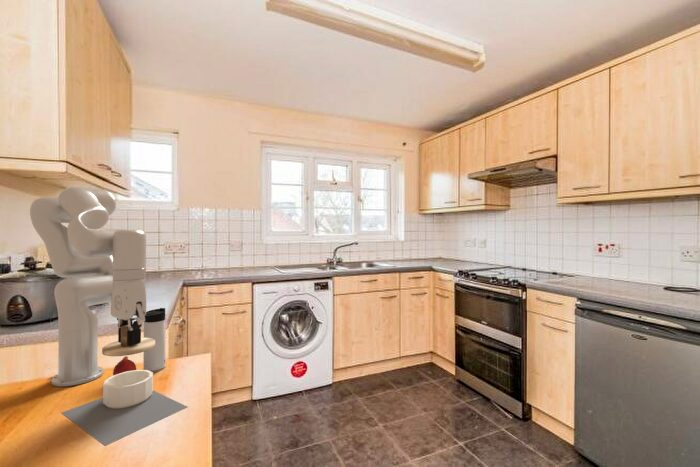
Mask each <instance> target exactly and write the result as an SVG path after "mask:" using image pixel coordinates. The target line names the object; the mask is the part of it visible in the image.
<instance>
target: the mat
mask: <svg viewBox="0 0 700 467" xmlns="http://www.w3.org/2000/svg"><path fill="white" fill-rule="evenodd" d="M186 408H187V409H188V406H186V405H184V404H183V403H181V402H178V401H177V400H174V399H172V398H170V397H168V396H166V395H164V394H162V393H160V392H157V391H156V390H154V389H153V392H152V395H151V396H150V397H149V398H148V399H147V400H145V401H144V402H142V403H140V404H137V405H134V406H131V407H126V408H119V409H113V408H108V407H107V406H106V405H105V404H103V397H100V398H98V399H96V400H93V401H90V402H87V403H84V404H82V405H78V406H75V407H73V408H70V409H67V410H65V411H62V412H61V414H62V415H63V416H65V417H66V418H67V419H69V420H70V421H72V422H73V423H74V424H75V425H77V426H78V427H79V428H80V429H82V430H83V431H85V432H86V433H87V434H89V435H90V436H91V437H92V438H93V439H95V440H96V441H98V443H101V444H102V446H104V447H106V446H108V445H111V444H112V443H115V442H117V441H119V440H121V439H123V438H125V437H127V436H129V435H130V436H131V435H132V434H134V433H135V432H138V431H140V430H142V429H144V428H147V427H149V426H151V425H153V424H155V423H157V422H159V421H161V420H163V419H165V418H168V417H169V416H172V415H174V414H176V413H178V412H181V411H182V410H185V409H186Z"/></svg>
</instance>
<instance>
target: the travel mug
mask: <svg viewBox="0 0 700 467" xmlns="http://www.w3.org/2000/svg"><path fill="white" fill-rule="evenodd" d="M166 330H167V328H166V307H164V308H163V307H160V308H156V309H150V310H146V315H145V321H144V322H143V338H152V339H154V340H155V346H154V347H153V348H151V349H149V350H147V351H144V352H143V370H149V371H151V372H153V373H156V372H160V371H163V370H164V369H165V368H166Z"/></svg>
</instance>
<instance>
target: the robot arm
mask: <svg viewBox="0 0 700 467" xmlns="http://www.w3.org/2000/svg"><path fill="white" fill-rule="evenodd" d="M116 208H117V201H116V198H115V196H114V195H113V193H111V192H110V191H108V190H106V189H100V188H99V189H98V188H89V187H81V186H80V187H79V186H77V187H76V186H73V187H67V188H64V189H63V190H62V191H61V192H59V194H58V196H44V197H39V198H35V200H33V201H32V203H31V204H30V208H29V216H30V222H31V224H32V226H33V228H34V231H35V232H36V233H37V234H38V236H39V237H40V238H41V240H42V241H43V243H44V245H45V248H46V252H47V256H48V259H49V261H50V265H51V267H52V270H53V272H54V274H55V275H56V276H57V277H59V278H64V279H63V280H61V281H59V282H57V284H56V285H55V287H54V290H53V291H54V295H53V296H54V300H55V305H56V308H57V309H56V310H57V315H58V316H57V317H58V318H57V319H58V320H57V321H58V351H57V352H58V358H57V359H58V360H57V361H58V374H56V375H55V376H53V377H52V379H51V382H50V383H51V385H52V386H54V387H72V386H77V385H82V384H86V383H89V382H92V381H93V380H96V379H98V378H99V377H101V376H102V375H103V374H104V368H103V367H102V366H98V365H99V364H98V359H99V358H98V357H99V356H98V355H99V354H98V351H99V349H98V348H99V347H98V346H99V345H98V344H99V342H98V340H99V339H98V338H99V336H98V335H99V333H98V330H99V327H98V326H99V325H98V323H99V322H98V317H97V316H96V315H95V313H94V312H92V311H91V310H90V308H89V307H91V306H92V307H93V306H97V305H101V304H109V303H110V315H111V317H113V318H116V320H117V327H118V330H117V331H118V332H117V334H118V335H117V336H118V339H117V341H118V342H119V343H121V327H122V326H124V325H128V327H129V331H127V345H128V346H131V345H135V344H139V343H141V338H142V328H143V327H142V325H143V324H144V321H145V315H146V312H147V290H146V282H145V281H146V280H147V273H146V272H147V269H146V268H147V251H146V250H147V235H146V232H145V231H143V230H141V229H140V230H139V229H122V228H121V229H119V228H117V229H116V228H115V229H114V228H103V227H104V226H105V225H106V224H107V223H108V221H109V218H110V216H111V215H112V214H113V213H114V212H115V211H116ZM63 224H68V225H67V226H65V225H63ZM134 316H135V317H134Z"/></svg>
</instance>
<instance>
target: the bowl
mask: <svg viewBox="0 0 700 467" xmlns="http://www.w3.org/2000/svg"><path fill="white" fill-rule="evenodd" d="M102 387H103V388H102V398H103V404H105V405H106V406H107V407H108V408H113V409H119V408H126V407H131V406H134V405H137V404H140V403H142V402H144V401H145V400H147V399H148V398H149V397H150V396H151V395H152V392H153V390H154V372H151V371H149V370H144V369H136V370H133V371H127V372H123V373H120V374H117V375H114V376H113V375H112V376H110V377H108V378H107V379H105V380H104V382H103V384H102Z"/></svg>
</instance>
